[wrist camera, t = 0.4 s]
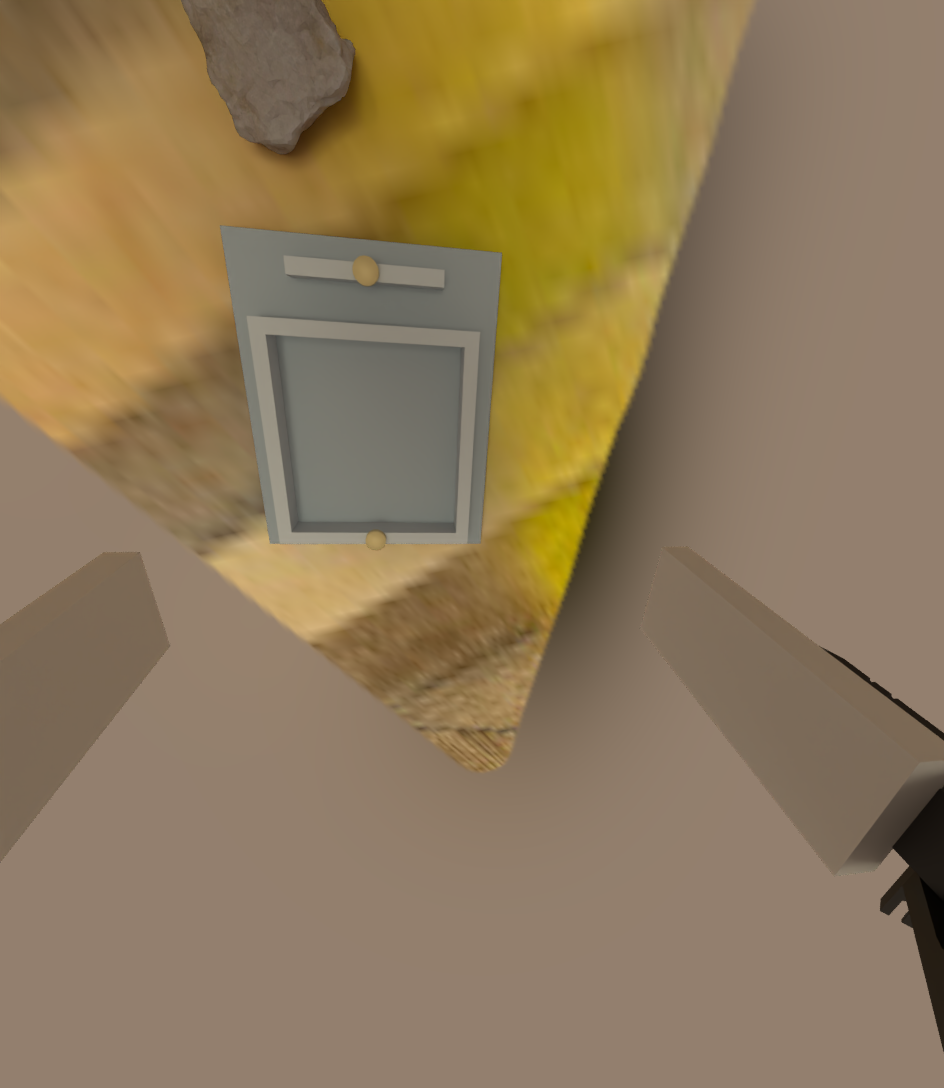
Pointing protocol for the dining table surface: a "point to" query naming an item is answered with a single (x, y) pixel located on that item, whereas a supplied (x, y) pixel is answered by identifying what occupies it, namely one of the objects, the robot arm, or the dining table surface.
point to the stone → (273, 64)
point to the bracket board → (366, 384)
